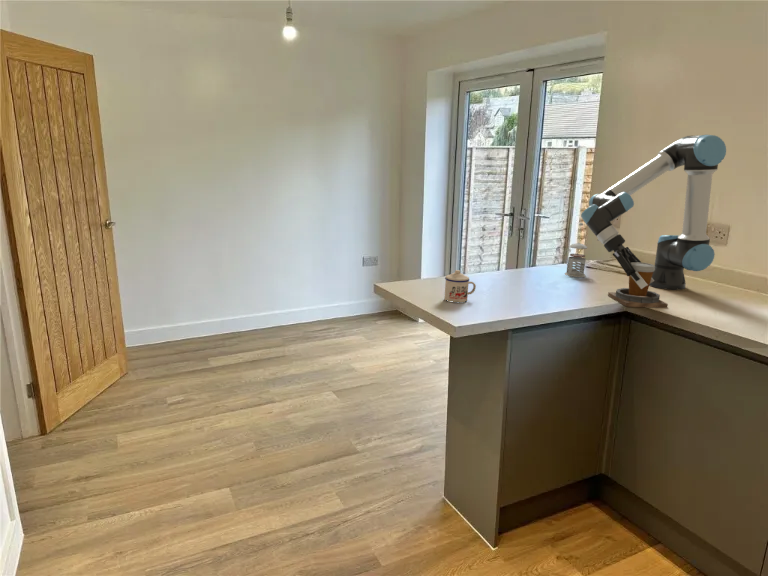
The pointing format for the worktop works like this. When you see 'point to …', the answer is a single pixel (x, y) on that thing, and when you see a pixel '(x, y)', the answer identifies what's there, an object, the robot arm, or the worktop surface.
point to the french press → (576, 261)
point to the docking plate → (634, 304)
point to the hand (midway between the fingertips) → (647, 284)
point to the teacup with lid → (457, 287)
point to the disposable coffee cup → (645, 273)
